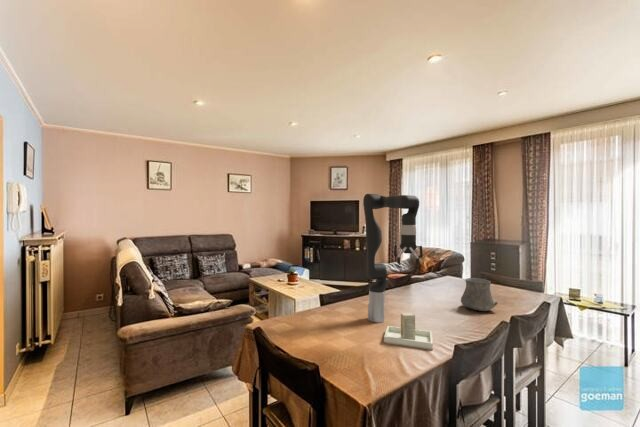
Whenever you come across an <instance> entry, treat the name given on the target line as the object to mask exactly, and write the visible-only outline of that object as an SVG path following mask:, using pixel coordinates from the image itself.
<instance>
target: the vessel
mask: <svg viewBox="0 0 640 427" xmlns="http://www.w3.org/2000/svg"><path fill="white" fill-rule="evenodd" d="M491 284H492V282H491V280H487V279H485V278H480V277H469V278H468V277H467V278H465V289H464V291H463V293H462V296H461V298H460V303H461V304H462V306H463V307H465V308H468V309H470V310H473V311H477V310H478V311H479V312H488V311H491V310H493V309H494V308H495V307H496V306H497V305H498V304H499V303H498V301H494V298H493V295H492V292H491Z"/></svg>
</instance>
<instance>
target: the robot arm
mask: <svg viewBox="0 0 640 427" xmlns="http://www.w3.org/2000/svg"><path fill="white" fill-rule="evenodd" d="M362 201H363V203H362V204H363V205H362V206H363V211H364V212H363V213H364V220H365V240H366V241H365V242H366V276H367V278H368V279H369V280H371V281H372V280H375V282H373V283H372V284H370V285H369V288H368V304H367V321H369V322H372V323H384V322H385V316H386V315H385V312H386V308H385V303H386V287H387V272H388V271H387V266H386V265H385V264H384V263H375V262H376V255H377V253H378V250H379V249H380V248H381V247H380V246H381V245H382V242H383V239H382V230H381V227H380V225H379V223H378V222H377V220H376V218H375V216H374V210H378V209H379V210H380V209H383V208H389V209H405V210H407V212H406V213H403V214H402V215H401V225H400V226H401V227H400V244H397V243H396V244H394V249H393V256H394V257H397V258H396V262H397V264H398V266H401V256H402V255H403V254H406V255H407V254H409V255H412V254H413V255H414V256H415V266H416V267H418V265H419V264H420V259H421V258H423V254H424V253H423V246H422V245H417V243H416V242H417V226H416V224H417V222H416V221H417V215H418V210H419V208H420V199H419V198H418V197H417V196H416V195H409V194H406V195H404V194H402V195H389V196H383V195H380V194H378V193H377V194H376V193H366V194H365V195H364V197H363V200H362ZM399 248H400V252H399V253H397V251H398V249H399ZM417 249H418V251H419V254H417V252H416V250H417Z"/></svg>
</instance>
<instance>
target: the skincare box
mask: <svg viewBox="0 0 640 427" xmlns="http://www.w3.org/2000/svg"><path fill="white" fill-rule="evenodd" d="M400 327H401V338H402V339H409V340H415V329H416V315H415V314H414V312H401V313H400Z"/></svg>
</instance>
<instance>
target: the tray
mask: <svg viewBox="0 0 640 427" xmlns="http://www.w3.org/2000/svg"><path fill="white" fill-rule="evenodd" d="M433 341H434V340H433V331H431V330H423V329H416V328H415V340H409V339H402V338H401V326H391V325H387V327H386V330H385V333H384V335H383V343H384V344H389V345H395V346H402V347H409V348H415V349H423V350H430V351H433V350H434V349H433V348H434V347H433V345H434V342H433Z"/></svg>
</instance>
